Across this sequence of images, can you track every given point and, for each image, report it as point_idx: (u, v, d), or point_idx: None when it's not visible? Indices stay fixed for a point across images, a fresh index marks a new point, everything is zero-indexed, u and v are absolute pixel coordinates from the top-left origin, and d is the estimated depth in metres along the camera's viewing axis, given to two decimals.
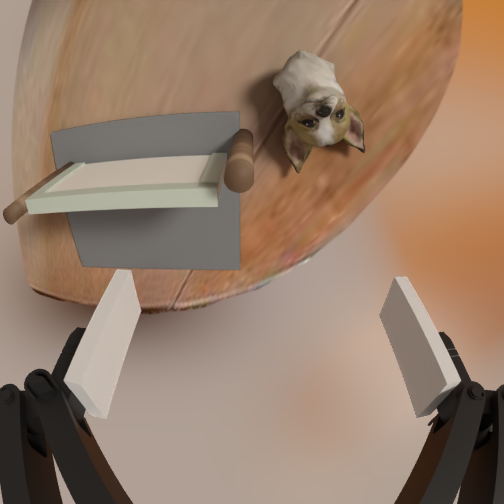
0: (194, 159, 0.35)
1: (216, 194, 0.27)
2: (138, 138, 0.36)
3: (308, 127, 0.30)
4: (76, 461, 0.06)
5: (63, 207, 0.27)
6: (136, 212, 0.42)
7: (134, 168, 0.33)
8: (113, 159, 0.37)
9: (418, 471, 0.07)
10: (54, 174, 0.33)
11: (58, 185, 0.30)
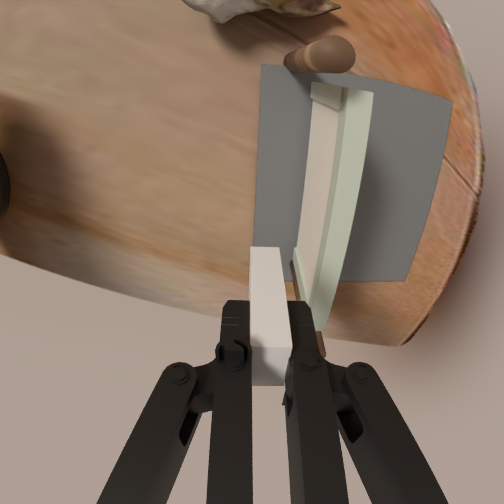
0: (315, 118, 0.28)
1: (356, 90, 0.17)
2: (280, 181, 0.34)
3: None
4: (235, 439, 0.07)
5: (331, 288, 0.26)
6: (366, 200, 0.36)
7: (312, 190, 0.30)
8: (299, 213, 0.37)
9: (292, 462, 0.08)
10: (295, 286, 0.36)
11: (307, 285, 0.31)
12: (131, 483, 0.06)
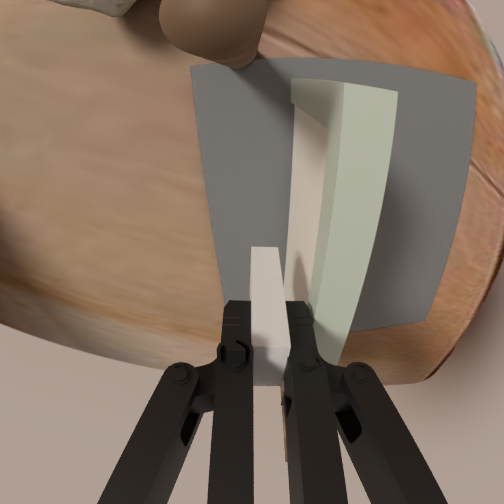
0: (297, 134, 0.18)
1: (362, 87, 0.08)
2: (245, 225, 0.25)
3: None
4: (236, 439, 0.07)
5: None
6: None
7: (295, 244, 0.20)
8: None
9: (291, 462, 0.08)
10: None
11: None
12: (132, 483, 0.06)
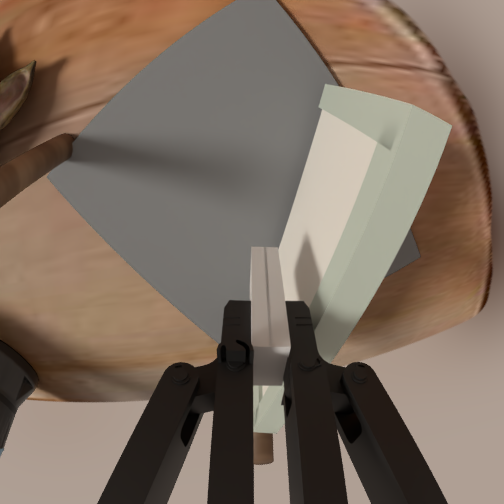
0: (320, 140, 0.19)
1: (425, 113, 0.08)
2: (158, 260, 0.27)
3: None
4: (236, 439, 0.07)
5: None
6: (268, 211, 0.25)
7: (295, 246, 0.20)
8: (208, 277, 0.28)
9: (291, 462, 0.08)
10: None
11: None
12: (132, 483, 0.06)
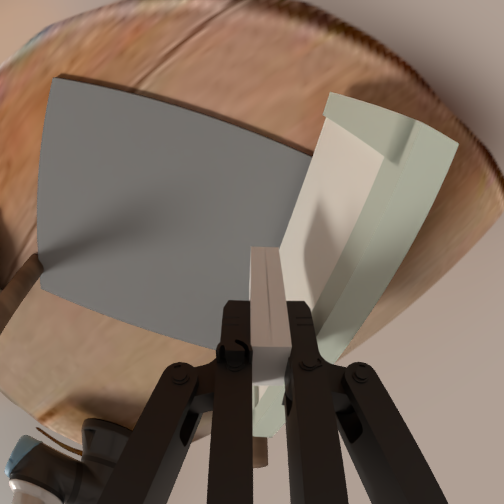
0: (323, 148, 0.19)
1: (433, 131, 0.08)
2: (142, 311, 0.31)
3: None
4: (235, 439, 0.07)
5: None
6: (182, 234, 0.26)
7: (294, 253, 0.20)
8: (184, 307, 0.30)
9: (292, 462, 0.08)
10: None
11: None
12: (131, 483, 0.06)
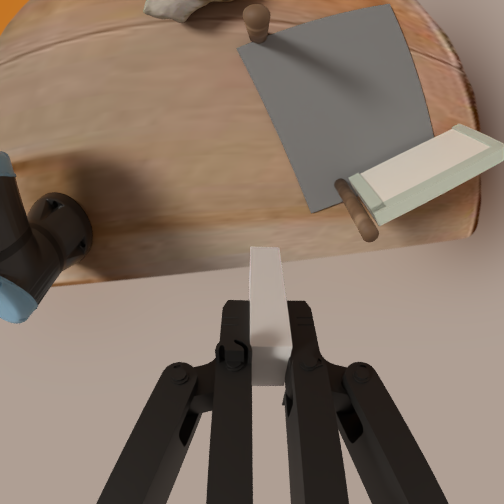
0: (449, 135, 0.36)
1: None
2: (294, 122, 0.40)
3: None
4: (235, 438, 0.07)
5: (416, 203, 0.32)
6: (367, 110, 0.38)
7: (421, 156, 0.36)
8: (321, 142, 0.42)
9: (292, 462, 0.08)
10: (342, 197, 0.41)
11: (379, 193, 0.36)
12: (131, 483, 0.06)
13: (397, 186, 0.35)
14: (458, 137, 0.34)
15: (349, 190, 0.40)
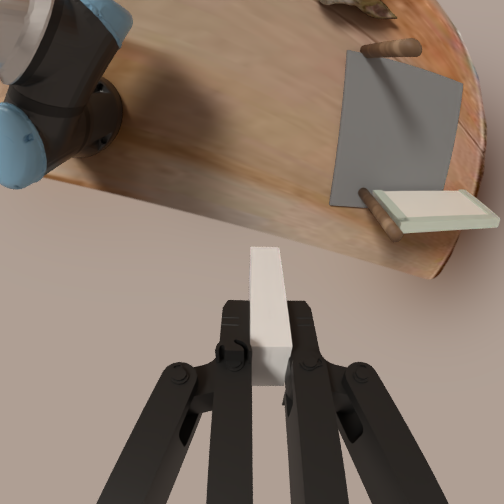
0: (456, 194, 0.48)
1: (499, 221, 0.39)
2: (356, 128, 0.45)
3: None
4: (235, 438, 0.07)
5: (430, 228, 0.40)
6: (410, 147, 0.47)
7: (434, 199, 0.47)
8: (367, 153, 0.48)
9: (292, 462, 0.08)
10: (368, 201, 0.47)
11: (402, 210, 0.44)
12: (131, 483, 0.06)
13: (416, 211, 0.43)
14: (463, 198, 0.47)
15: (375, 199, 0.47)
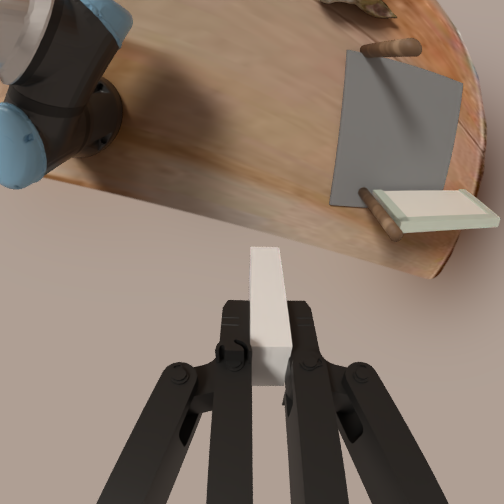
0: (456, 194, 0.48)
1: (499, 220, 0.39)
2: (356, 128, 0.45)
3: None
4: (235, 438, 0.07)
5: (430, 228, 0.40)
6: (410, 147, 0.47)
7: (434, 199, 0.47)
8: (367, 153, 0.48)
9: (292, 462, 0.08)
10: (368, 201, 0.47)
11: (402, 210, 0.44)
12: (131, 483, 0.06)
13: (416, 211, 0.43)
14: (463, 198, 0.47)
15: (375, 199, 0.47)
